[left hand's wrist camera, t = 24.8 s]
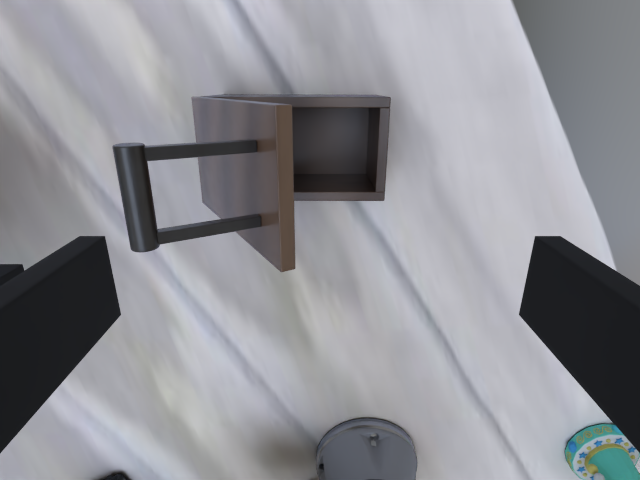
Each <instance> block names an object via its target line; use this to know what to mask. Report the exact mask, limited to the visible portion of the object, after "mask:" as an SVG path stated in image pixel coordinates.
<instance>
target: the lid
mask: <svg viewBox="0 0 640 480" xmlns="http://www.w3.org/2000/svg"><path fill="white" fill-rule="evenodd" d="M192 106H193V115H194V125H195V134H196V143H184V144H168V145H152V146H145V145H144V144H142V143H122V144H116V145H113V152H114V157H115V163H116V169H117V174H118V180H119V185H120V191H121V196H122V202H123V208H124V213H125V219H126V224H127V230H128V235H129V241H130V247H131V250H132V251H134V252H148V251H152V250H155V249H157V248H158V247H159V246H160V244H165V243H170V242H176V241H182V240H188V239H194V238H199V237H205V236H211V235H217V234H222V233H228V232H234V231H235V232H236V233H238V234H239V235H240V236H241V237H242V238H243V239H244V240H245V241H247V242H248V243H249V244H250V245H251V246H252V247H253V248H254V249H256V250H257V251H258V252H259V253H260V254H261V255H262V256H263V257H265V258H266V259H267V260H268V261H269V262H270V263H271V264H272V265H274V266H275V267H276V268H277V269H278V270H279V271H280V272H284V271H288V270H293V269H295V228H294V180H293V132H292V105H291V104H279V103H268V102H257V101H245V100H234V99H222V98H211V97H192ZM193 157H198V163H199V172H200V182H201V191H202V201H203V203H204V204H205V205H206V206H207V207H208V208H209V209H211V210H212V211H213V212H214V213H215V214H216V215H217V216H218V217H220V218H221V219H220V220H213V221H207V222H201V223H194V224H188V225H181V226H175V227H169V228H162V229H157V223H156V217H155V210H154V203H153V197H152V190H151V184H150V177H149V170H148V164H147V161H155V160H167V159H180V158H193Z"/></svg>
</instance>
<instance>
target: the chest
mask: <svg viewBox="0 0 640 480" xmlns="http://www.w3.org/2000/svg"><path fill="white" fill-rule="evenodd" d="M201 97H211V98H222V99H234V100H245V101H257V102H268V103H279V104H291V105H292V132H293V180H294V201H384V196H385V181H386V165H387V149H388V133H389V117H390V100H391V98H390V97H385V96H379V95H212V96H201Z"/></svg>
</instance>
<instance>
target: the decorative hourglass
mask: <svg viewBox="0 0 640 480" xmlns="http://www.w3.org/2000/svg"><path fill="white" fill-rule="evenodd" d="M565 455H566V461H567V462H568V464H569V466H570V468H571V469H572V470H573V472H575V474H576V475H577V476H578V477H579V478H581V479H583V480H640V473H639V472H638V471H637V469H636V467H635V465H636V463H637V461H638V459H639V457H640V453H639V452H638V451H637V449H636V448H635V447H634V446H633V445H632V444H631V443H630V441H629V440H628V439H627V438H626V437H625V436H624V435H623V433H622V432H621V431H620V430H619V429H618V428H617V427H616V425H612V424H600V425H595V426H591V427H588V428H586V429H584V430H582V431H580V432H579V433H577V434H576V435H575V436H574V437H573V438H572V439H571V440H570V441H569V442H568V445H567V447H566V450H565Z"/></svg>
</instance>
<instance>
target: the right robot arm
mask: <svg viewBox="0 0 640 480" xmlns="http://www.w3.org/2000/svg"><path fill="white" fill-rule="evenodd" d="M23 271H24V268H23V265H22V264H0V286H1V285H3V284H4V283H6V282H7V281H9V280H11V279H12V278H14V277H15V276H17V275H19V274H20V273H22V272H23Z"/></svg>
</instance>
